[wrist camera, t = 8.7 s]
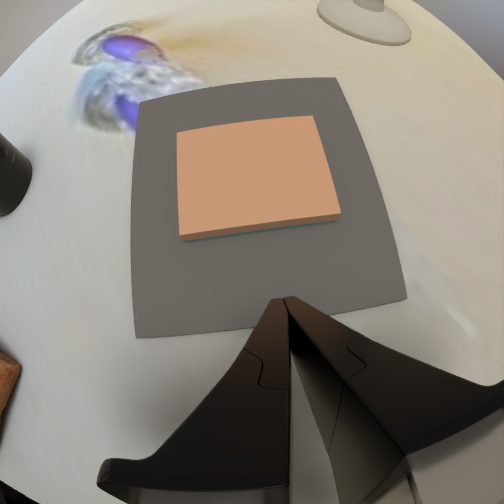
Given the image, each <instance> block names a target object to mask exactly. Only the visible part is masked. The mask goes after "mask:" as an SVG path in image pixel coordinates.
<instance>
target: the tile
mask: <svg viewBox="0 0 504 504" xmlns="http://www.w3.org/2000/svg"><path fill="white" fill-rule="evenodd" d="M177 189H178V216H179V235H180V236H181V238H182V239H183V240H184V241H185V242H192V241H199V240H206V239H213V238H219V237H226V236H234V235H241V234H248V233H255V232H262V231H270V230H277V229H285V228H292V227H300V226H308V225H315V224H323V223H331V222H336V221H337V219H338V218H339V216H340V214H341V210H340V206H339V202H338V199H337V195H336V191H335V187H334V184H333V180H332V177H331V173H330V169H329V166H328V163H327V159H326V156H325V153H324V149H323V146H322V143H321V140H320V136H319V133H318V130H317V127H316V124H315V121H314V118H313V115H312V116H296V117H283V118H272V119H262V120H253V121H245V122H237V123H230V124H223V125H217V126H211V127H205V128H199V129H193V130H188V131H183V132H178V133H177Z"/></svg>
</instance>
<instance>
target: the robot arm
mask: <svg viewBox="0 0 504 504" xmlns="http://www.w3.org/2000/svg"><path fill="white" fill-rule="evenodd" d="M291 354H292V357H293V360H294V363H295V365H296V368H297V371H298V374H299V376H300V379H301V382H302V384H303V387H304V390H305V393H306V395H307V398H308V401H309V404H310V406H311V409H312V412H313V415H314V417H315V420H316V423H317V425H318V428H319V431H320V434H321V436H322V439H323V442H324V445H325V447H326V450H327V453H328V456H329V458H330V462H331V465H332V469H333V473H334V478H335V483H336V488H337V493H338V499H339V504H504V380H502V381H500V382H499V383H497V384H495V385H492V386H483V385H479V384H476V383H474V382H471V381H469V380H466V379H463V378H461V377H458V376H456V375H453V374H451V373H448V372H446V371H443V370H441V369H438V368H436V367H434V366H431V365H429V364H426V363H424V362H421V361H419V360H417V359H414V358H412V357H409V356H407V355H405V354H402V353H400V352H397V351H395V350H393V349H390V348H388V347H386V346H384V345H381V344H379V343H377V342H375V341H373V340H371V339H369V338H367V337H365V336H364V335H362V334H360V333H358V332H357V331H354V330H352V329H351V328H349V327H347V326H345V325H344V324H342V323H340V322H338V321H337V320H335V319H333V318H332V317H330V316H328V315H326V314H325V313H323V312H321V311H319V310H318V309H316V308H314V307H313V306H311V305H309V304H308V303H306V302H304V301H302V300H301V299H299V298H297V297H296V296H288V297H284V298H283V299H282V298H274V299H271V300H270V302H269V304H268V305H267V307H266V309H265V311H264V312H263V314H262V316H261V318H260V319H259V321H258V323H257V325H256V326H255V328H254V330H253V332H252V333H251V335H250V337H249V339H248V340H247V342H246V344H245V345H244V347H243V349H242V350H241V352H240V353H239V355H238V357H237V358H236V360H235V361H234V363H233V364H232V366H231V367H230V369H229V370H228V371H227V372H226V374H225V375H224V376H223V377H222V379H221V380H220V381H219V382H218V383H217V384H216V386H215V387H214V388H213V389H212V390H211V391H210V392H209V394H208V395H207V396H206V397H205V398H204V399H203V401H202V402H201V403H200V404H199V405H198V406H197V407H196V408H195V410H194V411H193V412H192V413H191V414H190V415H189V416H188V417H187V419H186V420H185V421H184V422H183V423H182V424H181V425H180V426H179V427H178V428H177V430H176V431H175V432H174V433H173V434H172V435H171V436H170V437H169V438H168V439H167V440H166V441H165V442H164V444H163V445H162V446H161V447H160V448H159V449H158V450H157V451H156V452H155V453H154V454H153V455H151V456H149V457H147V458H145V459H141V460H131V459H122V458H110V459H106V460H105V461H104V462H103V463H102V465H101V467H100V471H99V473H98V477H97V486H98V487H99V488H100V489H102V490H103V491H105V492H107V493H109V494H110V495H112V496H114V497H116V498H118V499H120V500H122V501H124V502H125V503H127V504H292V487H293V429H292V375H291ZM0 504H39V503H37V502H35V501H34V500H32V499H30V498H28V497H26V496H25V495H24V494H22V493H20V492H18V491H17V490H15V489H13V488H12V487H10V486H9V485H7V484H5V483H4V482H2V481H1V480H0Z"/></svg>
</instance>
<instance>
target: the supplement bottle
mask: <svg viewBox="0 0 504 504" xmlns="http://www.w3.org/2000/svg"><path fill="white" fill-rule="evenodd" d="M30 176H31V167H30V163H29V161H28V159H27V158H26V157H25V156H24V155H23V154H22V153H21V152H20V151H19V150H18V149H17V148H15V147H14V146H13V145H12V144H11V143H10V142H9V141H8V140H7V139H6V138H5V137H4V136H3V135H2V134H1V133H0V216H1V215H5V214H7V213H9V212H10V211H11V210H13V209H14V208H15V207H16V205H17V204H18V203H19V202H20V200H21V199H22V197H23V195H24V194H25V192H26V190H27V187H28V184H29V181H30Z"/></svg>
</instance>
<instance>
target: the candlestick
mask: <svg viewBox="0 0 504 504" xmlns="http://www.w3.org/2000/svg"><path fill="white" fill-rule="evenodd" d="M317 12H318V14H319V16H320V17H321V18H322V19H323V20H324V21H325V22H326V23H327V24H329V25H330V26H332V27H334V28H335V29H337V30H339V31H341V32H343V33H345V34H348V35H350V36H353V37H355V38H358V39H361V40H365V41H368V42H372V43H376V44H381V45H389V46H398V45H404V44H406V43H407V42H409V40H410V38H411V30H410V28H409V26H408V25H407V23H406V22H405V21H404V20H403V19H402V18H401V17H400V16H399V15H398V14H397V13H396V12H394V11H393V10H392V9H390V8H388V7H387V6H385V5H384V0H321V1H320V2H319V4H318V7H317Z"/></svg>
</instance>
